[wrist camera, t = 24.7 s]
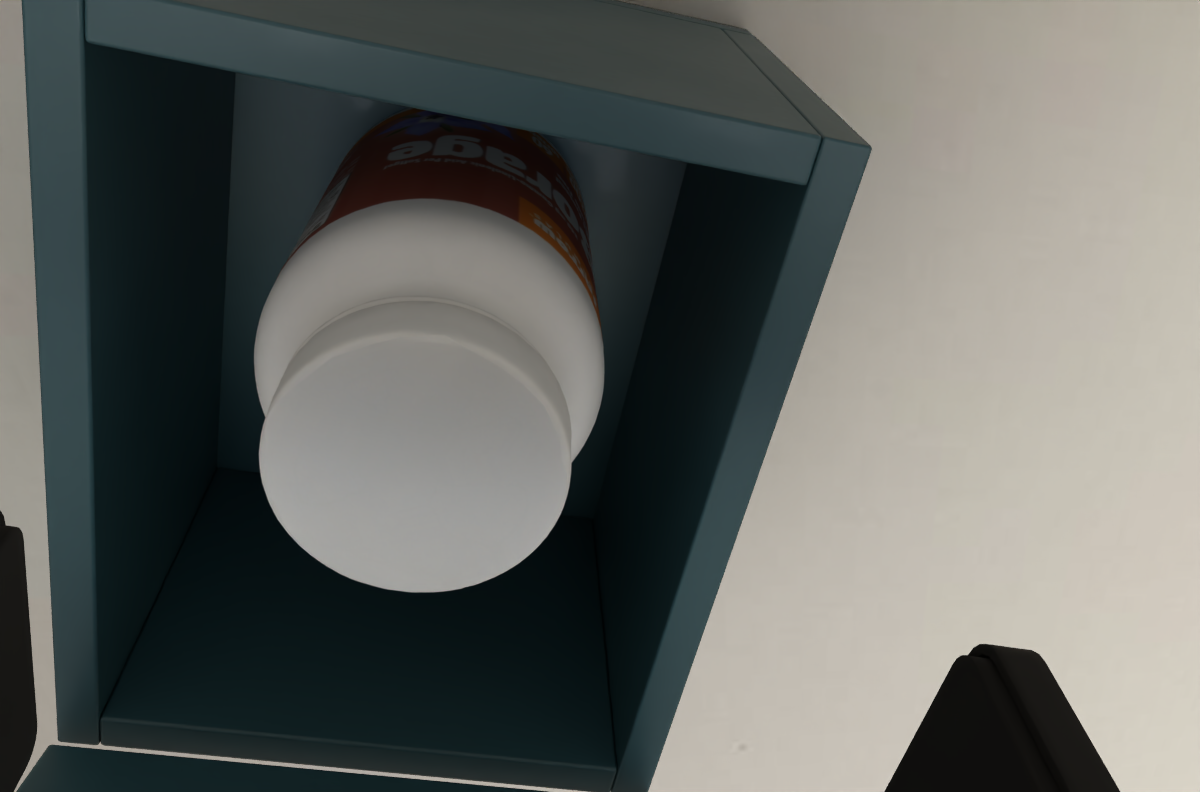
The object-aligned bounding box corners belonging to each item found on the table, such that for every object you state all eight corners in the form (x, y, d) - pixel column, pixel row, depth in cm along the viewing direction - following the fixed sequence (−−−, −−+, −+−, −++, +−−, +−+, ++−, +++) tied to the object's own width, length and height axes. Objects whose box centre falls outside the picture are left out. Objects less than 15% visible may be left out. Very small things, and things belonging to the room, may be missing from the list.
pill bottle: (633, 175, 25) (704, 406, 15) (511, 373, 27) (504, 680, 17) (397, 41, 23) (305, 204, 13) (288, 266, 25) (143, 543, 16)
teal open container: (213, -91, 22) (17, -32, 13) (749, 29, 24) (873, 147, 15) (194, 469, 29) (56, 742, 20) (611, 527, 31) (646, 798, 22)
